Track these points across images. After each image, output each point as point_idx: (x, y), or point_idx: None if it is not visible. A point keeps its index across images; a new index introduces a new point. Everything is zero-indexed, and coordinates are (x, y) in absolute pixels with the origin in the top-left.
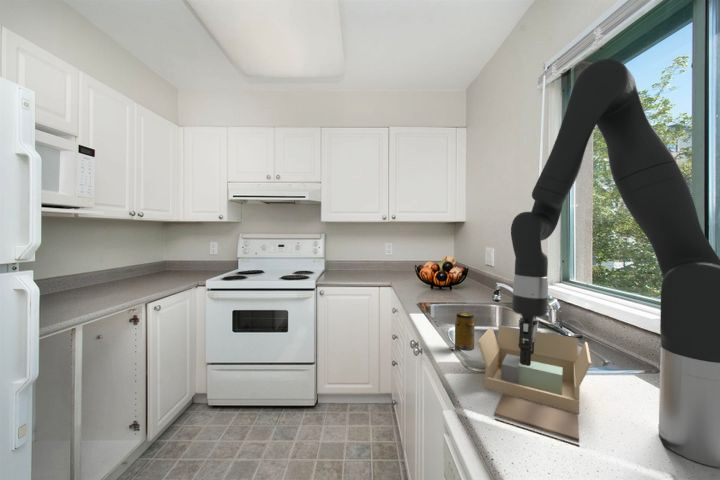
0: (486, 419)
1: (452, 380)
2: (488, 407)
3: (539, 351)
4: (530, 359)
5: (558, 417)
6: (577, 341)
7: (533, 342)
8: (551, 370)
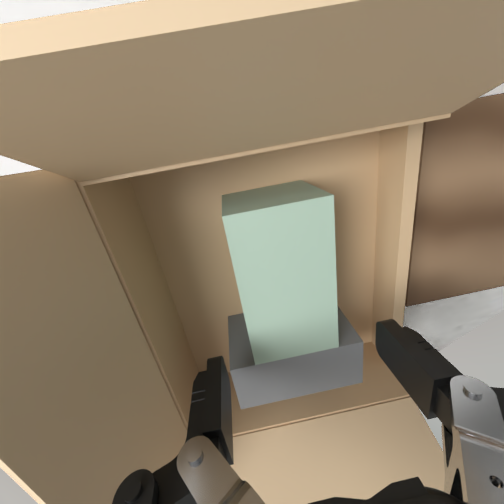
0: (497, 287)
1: None
2: (443, 304)
3: (131, 349)
4: (411, 337)
5: (473, 155)
6: None
7: (221, 415)
8: (306, 245)
